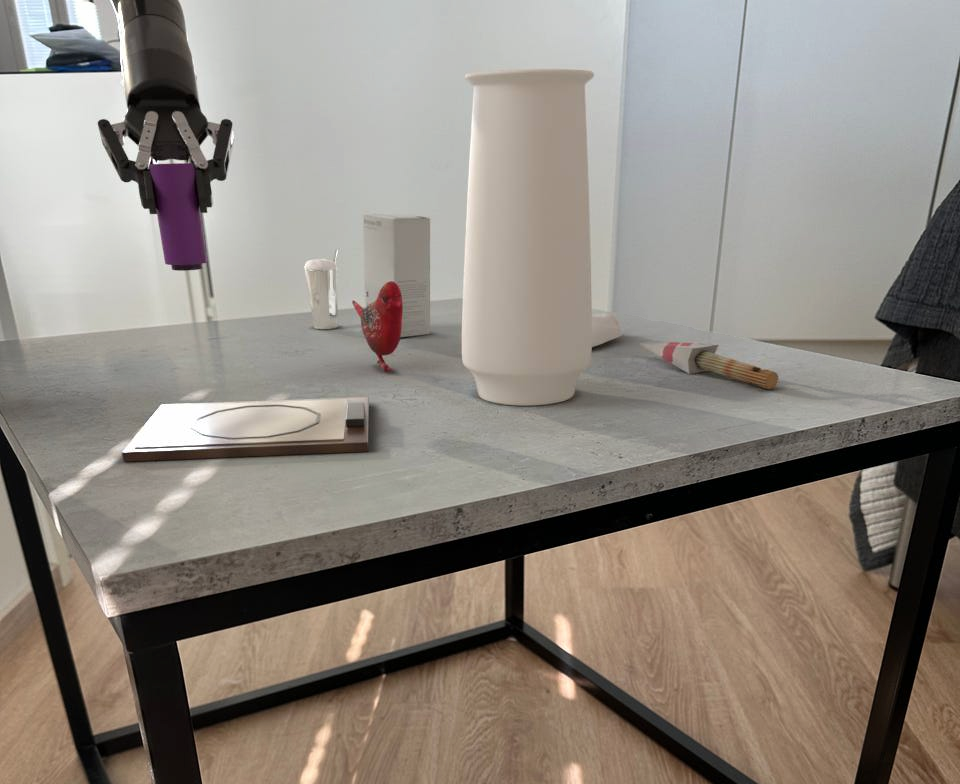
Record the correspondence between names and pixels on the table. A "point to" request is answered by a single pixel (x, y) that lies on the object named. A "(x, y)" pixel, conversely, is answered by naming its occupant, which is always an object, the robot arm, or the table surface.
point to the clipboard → (252, 429)
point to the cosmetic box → (399, 264)
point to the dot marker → (179, 215)
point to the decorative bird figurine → (382, 321)
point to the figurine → (604, 328)
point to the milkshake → (323, 292)
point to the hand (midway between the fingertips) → (178, 207)
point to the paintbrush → (710, 362)
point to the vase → (527, 236)
